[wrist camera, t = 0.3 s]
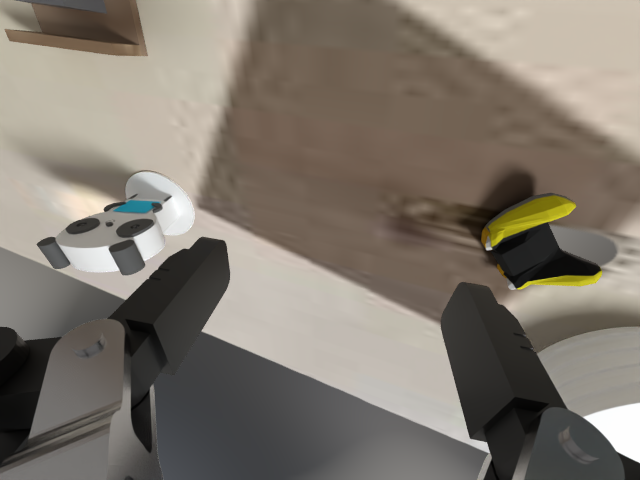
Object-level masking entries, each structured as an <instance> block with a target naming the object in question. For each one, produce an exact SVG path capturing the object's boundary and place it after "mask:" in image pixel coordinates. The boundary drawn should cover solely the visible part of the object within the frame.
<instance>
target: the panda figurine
mask: <svg viewBox="0 0 640 480" xmlns="http://www.w3.org/2000/svg"><path fill="white" fill-rule="evenodd" d="M125 194H126V199H127V200H126V201H124V202H119V203H113V204H110V205H108V206H106V207H105V208H104V211H105V212H103V213H98V214H95V215H92V216H89V217H86V218H84V219H81V220H78V221H76V222H73V223H72V224H70V225H69V226H68V227H67V228H66V229H64V230H63V231H62V232H61V233H60V234H59V235H58V236H57V237H56V238H55V237H48V238H45V239H43V240H41V241H40V242H38V243H37V246H38V247H39V248H40V250H41V251H42V253H43V254H44V255H45V257H46V258H47V259H48V261H49V262H50V264H51V265H52V266H53V268H55V269H61V268H65V267H67V266H69V265H70V263H71V264H72V266H73V267H74V268H76V269H78V270H82V271H87V272H113V271H118V270H120V272H121V274H122V275H131V274H134V273H136V272H138V271H140V270H142V269H143V268H144V267H145V263H144V261H146V260H147V259H149V258H151V257H153V256H154V255H156V254H157V253H159V252H160V251H161V250H162V249H163V248H164V246H165V242H166V240H165V237H164V235H163V234H166V235H180V234H183V233H185V232H187V231H188V230H189V229H190V228H191V226H192V225H193V223H194V219H195V212H194V208H193V205H192V202H191V200H190V198H189V197H188V195H187V194H186V192H185V191H184V190H183V189H182V188H181V187H180V186H179V185H178V184H177V183H176V182H174V181H173V180H172V179H170V178H168V177H167V176H165V175H162V174H160V173H157V172H152V171H142V172H139V173H136V174H134V175H133V176H131V177H130V178H129V180H128V181H127V183H126V188H125Z"/></svg>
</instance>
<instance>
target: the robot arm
mask: <svg viewBox="0 0 640 480" xmlns="http://www.w3.org/2000/svg"><path fill="white" fill-rule="evenodd" d="M229 280H230V269H229V261H228V253H227V246H226V243H225V241H223V240H218V239H212V238H206V237H201V238H199V239H198V240H197V241H196V242H195V243H194V244H193V246H192V247H191V248H190V249H182V250H181V251H179V252H177V253H175V254H173V255H172V256H170V257H168V258H167V259H166V260H165V261H164V262H163V264H162V265H161V266H160V267H159V268H158V270H156V271H155V272H154V273H153V274H152V275H151V276H150V277H149V279H147V280H146V281H145V282H144V283H143V284H142V285H141V286H140V287H139V288H138V289H137V290H136V291H135V292H134V293H133V294H132V295H131V296H130V297H129V298H128V299H127V300H126V301H125V302H124V303H123V304H122V305H121V306H120V307H119V308H118V309H117V310H116V311H115V312H114V313H113V314H112V315H111V316H110V317H109V318H107V319H98V320H94V321H90V322H87V323H85V324H82V325H80V326H78V327H77V328H74V329H73V330H71V331H70V332H68V333H67V334H66V335H64V336H63V337H57V338H48V339H37V340H27V341H24V340H23V339H22V338H21V337H20V336H19V335H18V334H17V333H16V332H15V331H14V330H13V329H11V328H7V327H0V480H163V475H162V471H161V467H160V464H159V459H158V450H157V434H156V415H155V397H154V385H153V383H154V381H155V379H156V378H157V377H158V375H159V374H160V372H161V373H166V374H170V375H175V373H176V372H177V370H178V368H179V367H180V365H181V363H182V362H183V360H184V358H185V356H186V355H187V354H188V352H189V350H190V349H191V347H192V345H193V344H194V342H195V340H196V339H197V337H198V335H199V334H200V332H201V331H202V329H203V327H204V326H205V324H206V322H207V321H208V319H209V317H210V316H211V314H212V312H213V311H214V309H215V308H216V306H217V304H218V303H219V301H220V299H221V298H222V296H223V294H224V293H225V291H226V289H227V287H228V284H229ZM441 330H442V334H443V338H444V342H445V346H446V350H447V353H448V357H449V361H450V365H451V369H452V372H453V376H454V380H455V384H456V388H457V391H458V395H459V399H460V403H461V406H462V410H463V414H464V418H465V422H466V425H467V429H468V433H469V437H470V439H475V440H479V441H484V442H487V444H488V447H489V450H490V453H489V454H488V455H487V457H486V459H485V461H484V463H483V466H482V468H481V471H480V474H479V476H478V478H477V480H640V463H639V462H637V461H635V460H633V459H631V458H628V457H626V456H624V455H622V454H620V453H618V452H616V450H615V449H614V447H613V446H612V444H611V443H610V442H609V441H608V439H607V438H606V437H605V436H604V435H603V434H602V433H601V432H600V431H599V430H598V429H597V428H596V427H595V426H594V425H592V424H591V423H590V422H589V421H587V420H586V419H585V418H583V417H581V416H580V415H578V414H576V413H574V412H572V411H570V410H568V408H567V407H566V405H565V403H564V402H563V400H562V398H561V396H560V395H559V393H558V391H557V389H556V387H555V386H554V384H553V382H552V380H551V379H550V377H549V375H548V373H547V371H546V370H545V368H544V366H543V364H542V363H541V361H540V359H539V357H538V355H537V354H536V352H534V351H533V349H534V348H533V347H532V345H531V343H530V341H529V339H528V338H526V334H525V332H524V330H523V329H522V327H521V325H520V323H519V322H518V320H517V319H516V318H515V317H514V316H513V315H512V314H511V313H510V312H509V311H508V310H507V309H506V308H505V307H504V306H503V305H500V304H498V303H497V301H496V299H495V297H494V295H493V293H492V291H491V290H490V288H489V287H487V286H483V285H477V284H472V283H466V282H461V283H459V285H458V286H457V288H456V289H455V291H454V293H453V295H452V297H451V299H450V300H449V302H448V304H447V306H446V308H445V310H444V311H443V314H442V318H441Z"/></svg>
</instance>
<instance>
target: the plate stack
mask: <svg viewBox="0 0 640 480" xmlns="http://www.w3.org/2000/svg"><path fill="white" fill-rule="evenodd" d="M537 355H538V357H539V359H540V361H541V363H542V364H543V366H544V368H545V370H546V371H547V373H548V375H549V377H550V379H551V380H552V382H553V384H554V386H555V387H556V389H557V391H558V393H559V395H560V396H561V398H562V400H563V402H564V403H565V405H566V407H567V408H568V410H570V411H572V412H574V413H576V414H578V415H580V416H581V417H583V418H585V419H586V420H587V421H589V422H590V423H591V424H592V425H594V426H595V427H596V428H597V429H598V430H599V431H600V432H601V433H602V434H603V435H604V436H605V437H606V438H607V439H608V441H609V442H610V443H611V444H612V446H613V447H614V449H615V450H616V452H618V453H620V454H622V455H624V456H626V457H628V458H631V459H633V460H635V461H637V462H639V463H640V327H618V328H609V329H603V330H597V331H592V332H588V333H584V334H580V335H576V336H573V337H570V338H567V339H565V340H562V341H560V342H557V343H555V344H553V345H551V346H549V347H547V348H545V349H544V350H542V351H540V352H539V353H537Z"/></svg>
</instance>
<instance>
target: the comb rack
mask: <svg viewBox="0 0 640 480" xmlns="http://www.w3.org/2000/svg"><path fill="white" fill-rule="evenodd" d="M104 3H105V7H106V11H107V14H105V13H97V12H89V11H82V10H74V9H66V8H58V7H52V6H46V5H40V4H34V3H31V4H32V6H33V9H34V11H35V14H36V17H37V19H38V22H39V24H40V27H41V30H42V32H32V31H20V30H8V29H5V32H6V34H7V36H8V38H9V41H13V42H20V43H28V44H35V45H42V46H50V47H57V48H64V49H72V50H79V51H86V52H94V53H101V54H108V55H118V56H148V55H147V51H146V46H145V41H144V37H143V32H142V27H141V23H140V18H139V13H138V9H137V4H136V0H104Z"/></svg>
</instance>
